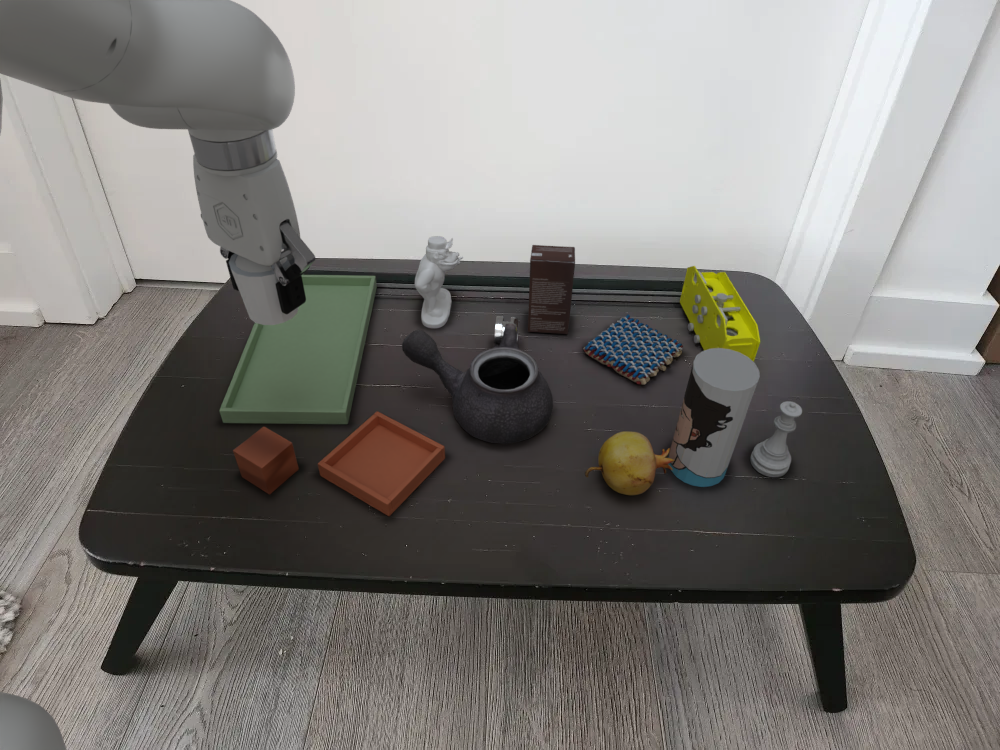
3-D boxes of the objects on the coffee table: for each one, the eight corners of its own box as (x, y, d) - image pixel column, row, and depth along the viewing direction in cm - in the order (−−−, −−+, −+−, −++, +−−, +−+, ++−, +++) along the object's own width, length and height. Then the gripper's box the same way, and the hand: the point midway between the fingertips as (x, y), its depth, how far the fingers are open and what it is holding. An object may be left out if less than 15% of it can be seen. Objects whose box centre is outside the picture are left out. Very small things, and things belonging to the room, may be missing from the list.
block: (269, 494, 80) (261, 468, 77) (241, 477, 82) (232, 450, 79) (299, 469, 83) (292, 442, 80) (271, 452, 85) (263, 426, 82)
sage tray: (347, 424, 88) (345, 412, 87) (223, 423, 88) (218, 410, 87) (376, 287, 110) (375, 275, 109) (276, 285, 110) (274, 274, 109)
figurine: (458, 329, 103) (457, 257, 95) (413, 327, 103) (407, 255, 95) (464, 292, 110) (463, 222, 102) (421, 290, 110) (416, 220, 102)
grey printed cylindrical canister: (707, 438, 88) (737, 343, 78) (737, 479, 83) (772, 383, 73) (657, 450, 86) (681, 354, 76) (685, 492, 82) (714, 396, 72)
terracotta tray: (389, 516, 78) (387, 504, 77) (319, 475, 82) (317, 463, 81) (445, 458, 85) (444, 446, 83) (378, 423, 89) (377, 410, 87)
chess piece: (789, 456, 86) (816, 395, 79) (786, 482, 83) (813, 421, 76) (752, 445, 87) (775, 384, 81) (747, 471, 84) (770, 410, 78)
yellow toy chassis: (675, 306, 108) (686, 258, 103) (712, 304, 109) (724, 256, 103) (710, 377, 96) (724, 328, 91) (751, 374, 97) (768, 325, 91)
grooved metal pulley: (496, 336, 102) (497, 308, 98) (517, 338, 102) (519, 309, 98) (493, 359, 98) (494, 330, 95) (515, 361, 98) (516, 332, 95)
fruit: (593, 479, 75) (687, 472, 76) (583, 422, 79) (672, 415, 80) (585, 506, 81) (672, 499, 82) (576, 451, 85) (659, 445, 86)
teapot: (556, 370, 97) (562, 310, 90) (548, 455, 85) (554, 394, 79) (417, 357, 98) (413, 297, 92) (392, 439, 87) (384, 377, 80)
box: (568, 316, 106) (576, 245, 98) (568, 335, 102) (576, 263, 94) (527, 313, 106) (531, 242, 98) (525, 333, 103) (529, 260, 95)
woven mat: (686, 354, 100) (689, 342, 99) (641, 391, 94) (643, 379, 93) (624, 321, 105) (626, 310, 104) (579, 354, 99) (580, 343, 98)
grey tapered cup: (291, 332, 80) (279, 279, 75) (232, 324, 81) (217, 272, 76) (312, 296, 85) (303, 244, 80) (257, 289, 86) (244, 238, 81)
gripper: (143, 135, 71) (191, 286, 82) (268, 184, 64) (301, 341, 76) (205, 110, 75) (242, 256, 87) (328, 154, 68) (350, 306, 80)
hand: (269, 294), depth 81 cm, fingers closed on grey tapered cup, 6 cm apart
